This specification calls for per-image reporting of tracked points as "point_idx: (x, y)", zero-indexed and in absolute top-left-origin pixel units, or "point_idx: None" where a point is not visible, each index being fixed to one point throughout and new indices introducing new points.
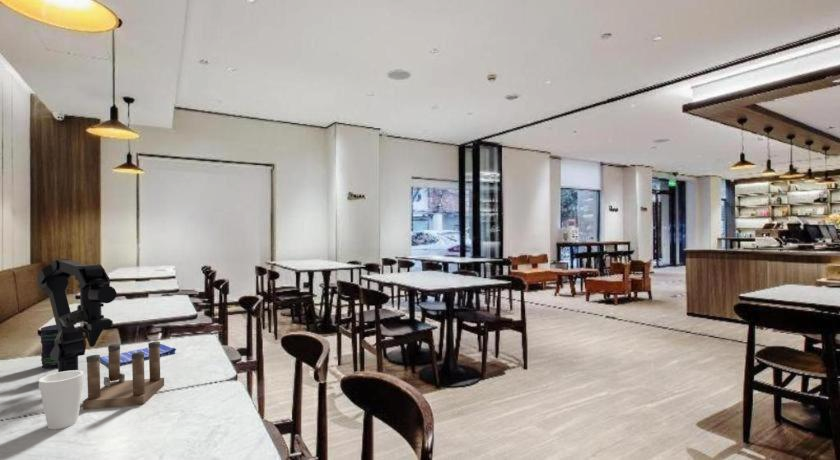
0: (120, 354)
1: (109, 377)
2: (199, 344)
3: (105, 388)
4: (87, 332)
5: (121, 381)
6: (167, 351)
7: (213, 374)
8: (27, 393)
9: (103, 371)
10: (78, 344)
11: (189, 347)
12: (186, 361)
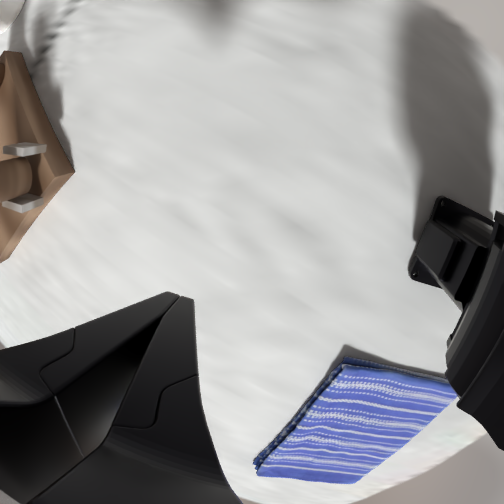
0: (415, 425)
1: (10, 159)
2: (264, 493)
3: (18, 128)
4: (15, 383)
5: (27, 193)
6: (262, 463)
7: (12, 338)
8: (375, 16)
9: (334, 318)
10: (473, 351)
11: (267, 484)
12: None
